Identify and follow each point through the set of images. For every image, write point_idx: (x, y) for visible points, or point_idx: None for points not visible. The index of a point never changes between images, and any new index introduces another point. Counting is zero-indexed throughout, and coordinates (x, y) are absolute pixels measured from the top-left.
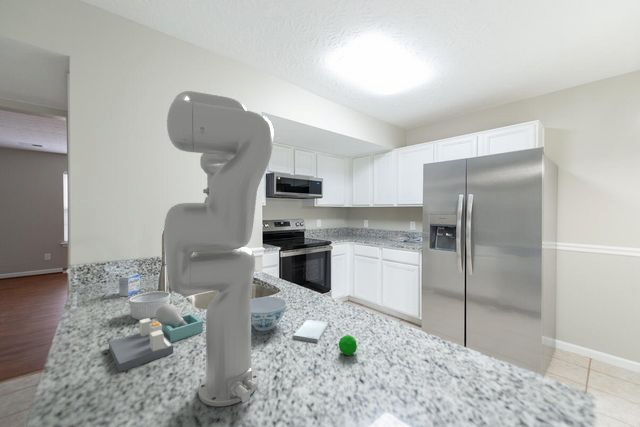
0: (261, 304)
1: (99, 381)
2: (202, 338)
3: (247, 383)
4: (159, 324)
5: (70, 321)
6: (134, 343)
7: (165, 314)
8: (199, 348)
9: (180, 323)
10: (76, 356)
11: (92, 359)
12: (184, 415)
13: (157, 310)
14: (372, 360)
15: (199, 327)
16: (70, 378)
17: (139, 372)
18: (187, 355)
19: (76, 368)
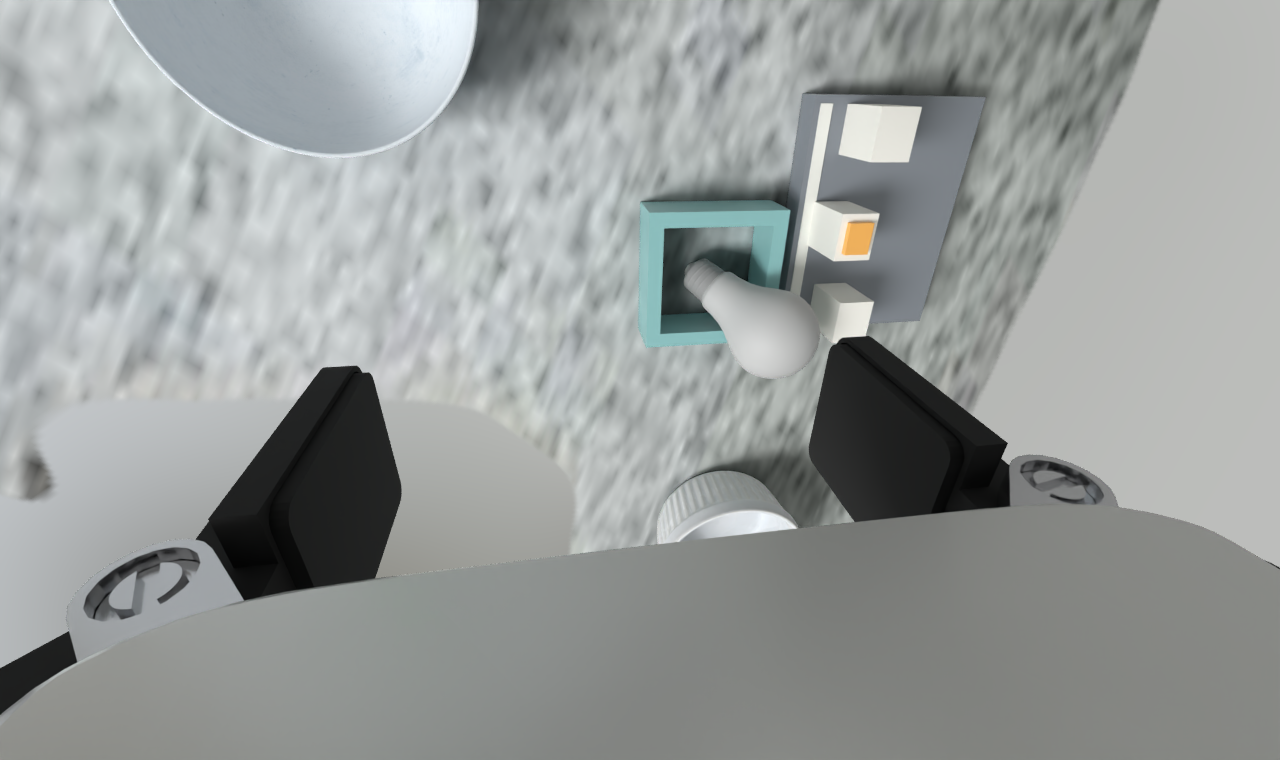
0: (287, 121)
1: (1018, 82)
2: (668, 133)
3: None
4: (849, 223)
5: None
6: (885, 239)
7: (799, 300)
8: (720, 38)
9: (722, 273)
10: (971, 320)
11: (960, 264)
12: None
13: (817, 347)
14: None
15: (660, 207)
16: (1039, 178)
17: (936, 32)
18: (780, 14)
19: (1005, 235)
